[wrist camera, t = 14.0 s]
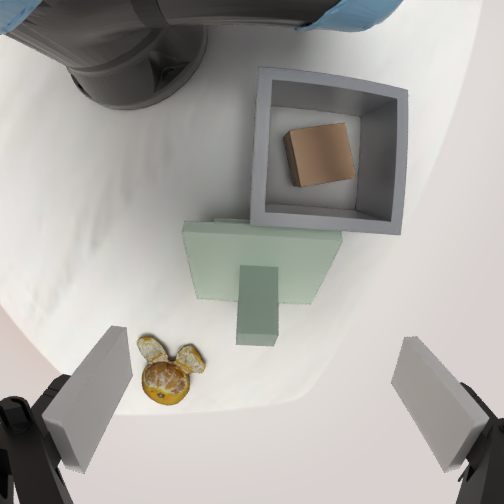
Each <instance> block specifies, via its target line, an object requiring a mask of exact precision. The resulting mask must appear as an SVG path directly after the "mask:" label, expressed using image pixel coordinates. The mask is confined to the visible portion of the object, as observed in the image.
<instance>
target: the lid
mask: <svg viewBox="0 0 504 504" xmlns="http://www.w3.org/2000/svg"><path fill="white" fill-rule="evenodd" d="M182 234H183V239H184V244H185V248H186V253H187V257H188V262H189V266H190V271H191V275H192V279H193V284H194V288H195V292H196V296H197V299H208V300H224V301H238V313H237V332H236V345H255V346H274V344H275V342H276V339H277V337H278V303H285V304H311V302H312V300H313V298H314V297H315V295H316V293H317V291H318V289H319V287H320V285H321V283H322V281H323V279H324V277H325V275H326V273H327V271H328V269H329V267H330V265H331V263H332V261H333V259H334V257H335V255H336V253H337V251H338V249H339V247H340V245H341V243H342V234H341V231H337V230H322V229H307V228H291V227H274V226H256V225H250V220H247V219H228V218H214V222H195V221H184V224H183V229H182Z"/></svg>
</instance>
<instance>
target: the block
mask: <svg viewBox="0 0 504 504" xmlns="http://www.w3.org/2000/svg"><path fill="white" fill-rule="evenodd" d="M284 143H285V148H286V152H287V157H288V162H289V167H290V172H291V176H292V181H293V186H296V187H306V186H311V185H317V184H322V183H328V182H334V181H339V180H345V179H351V178H356V177H355V171H354V166H353V161H352V156H351V151H350V146H349V141H348V136H347V131H346V127H345V123H338V124H330V125H323V126H316V127H309V128H303V129H297V130H291V131H289V132H288V133H287V134H286V135H285V136H284Z"/></svg>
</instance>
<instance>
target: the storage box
mask: <svg viewBox="0 0 504 504" xmlns="http://www.w3.org/2000/svg"><path fill="white" fill-rule="evenodd" d="M271 106H279V107H290V108H300V109H310V110H318V111H326V112H334V113H341V114H347V115H354V116H360V117H361V135H360V157H359V174H358V188H357V201H356V210H347V209H336V208H324V207H311V206H297V205H282V204H266V203H265V198H266V181H267V164H268V147H269V129H270V111H271ZM407 149H408V90H406V89H402V88H398V87H394V86H390V85H385V84H381V83H376V82H371V81H366V80H361V79H356V78H350V77H344V76H338V75H332V74H325V73H318V72H310V71H302V70H293V69H282V68H270V67H259V74H258V83H257V93H256V108H255V125H254V142H253V159H252V177H251V195H250V212H249V213H250V225H256V226H274V227H291V228H307V229H322V230H337V231H351V232H364V233H377V234H390V235H401V226H402V217H403V208H404V197H405V184H406V169H407Z"/></svg>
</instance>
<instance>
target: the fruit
mask: <svg viewBox="0 0 504 504" xmlns="http://www.w3.org/2000/svg"><path fill="white" fill-rule="evenodd" d="M137 346H138V348H139V350H140V352H141V354H142V355H143V357H144V358H145V359H146V360H147V362H148V365H147V366H146V368H145V369H144V371H143V374H142V387H143V390H144V392H145V393H146V395H148V397H150V398H151V399H152V400H154V401H155V402H157V403H160V404H164V405H174V404H177V403H179V402H180V401H181V400H182V399H183V398H184V397H185V396H186V394H187V393H188V391H189V389H190V388H189V386H190V382H189V381H190V379H189V376H188V374H189V373H202V372H203V371H204V370H205V367H206V366H205V363H204V362H203V361H202V359H201V357H200V355H199V353H198V352H197V351H196V350H195V348H193V347H192V346H187V347H183V348H182V350H180V351H179V352H178V353H177V357H176V360H175V361H173V362H171V361H169V360H168V359H167V358H168V356H167V354H166V352H165V350H164V349H163V346H161V345H160V344H159V343H158V342H157V341H156V340H154V339H153V338H151V337H142V338H141V339H139V340H138V341H137Z"/></svg>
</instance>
